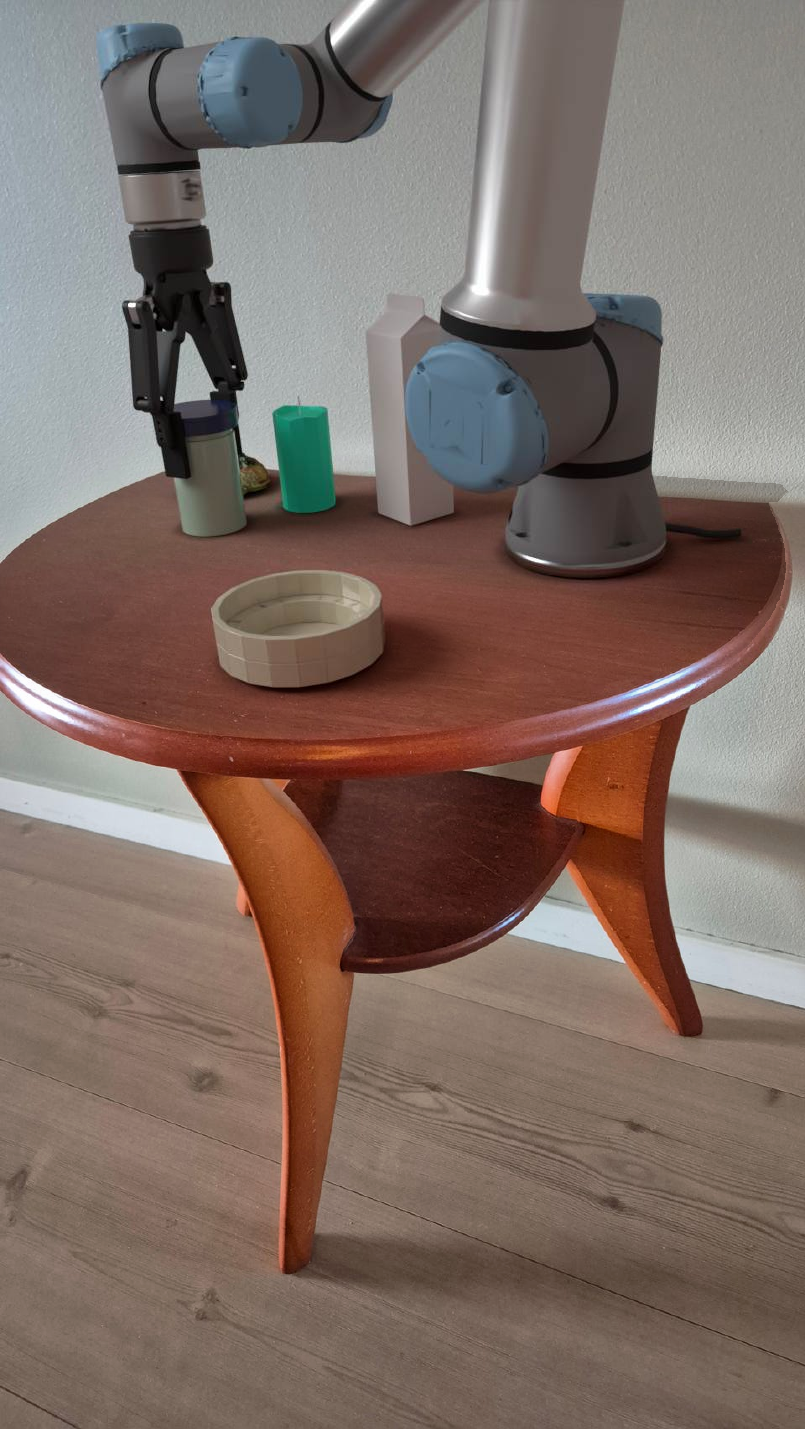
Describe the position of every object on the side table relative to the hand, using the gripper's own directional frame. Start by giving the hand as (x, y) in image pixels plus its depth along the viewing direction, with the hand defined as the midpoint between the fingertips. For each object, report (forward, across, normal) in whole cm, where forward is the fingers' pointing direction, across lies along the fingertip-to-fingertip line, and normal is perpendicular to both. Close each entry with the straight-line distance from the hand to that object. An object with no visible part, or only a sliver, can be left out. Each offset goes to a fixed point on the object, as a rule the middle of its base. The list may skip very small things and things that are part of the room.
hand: (205, 464), depth 104 cm
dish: (+7, -23, -26) cm, 35 cm away
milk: (+7, +11, -19) cm, 23 cm away
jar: (+7, 0, 0) cm, 7 cm away
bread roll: (+7, +11, +7) cm, 15 cm away
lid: (-5, 0, 0) cm, 5 cm away
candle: (+7, +10, -6) cm, 13 cm away
